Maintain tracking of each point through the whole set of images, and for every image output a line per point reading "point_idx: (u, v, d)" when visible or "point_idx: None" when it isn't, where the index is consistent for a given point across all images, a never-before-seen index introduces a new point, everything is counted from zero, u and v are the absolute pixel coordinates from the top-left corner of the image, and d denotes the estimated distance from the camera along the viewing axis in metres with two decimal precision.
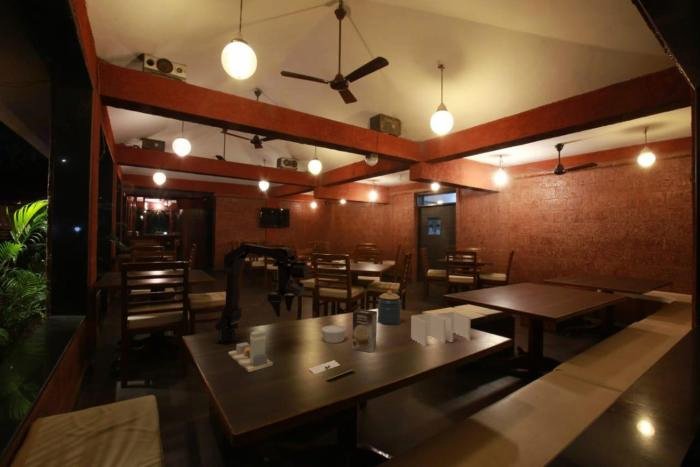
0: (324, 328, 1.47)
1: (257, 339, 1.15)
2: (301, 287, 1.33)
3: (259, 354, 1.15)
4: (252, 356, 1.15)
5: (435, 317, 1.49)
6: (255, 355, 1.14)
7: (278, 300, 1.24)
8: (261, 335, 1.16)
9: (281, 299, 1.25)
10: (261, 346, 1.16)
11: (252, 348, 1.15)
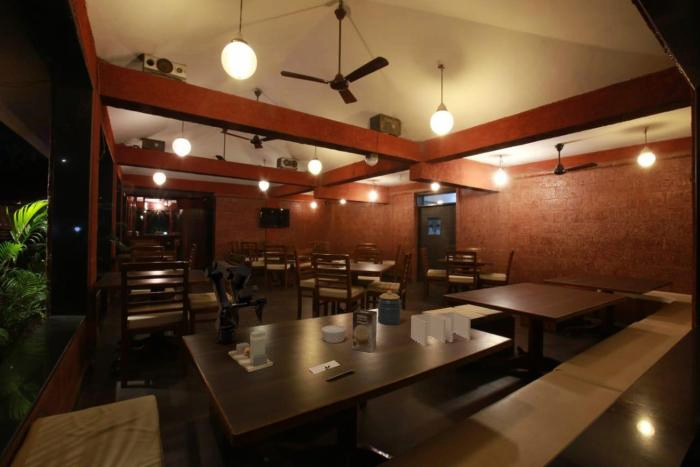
0: (324, 328, 1.47)
1: (257, 339, 1.15)
2: None
3: (259, 354, 1.15)
4: (252, 356, 1.15)
5: (435, 317, 1.48)
6: (255, 355, 1.14)
7: (222, 307, 1.19)
8: (261, 335, 1.16)
9: (225, 305, 1.20)
10: (261, 346, 1.16)
11: (252, 348, 1.15)
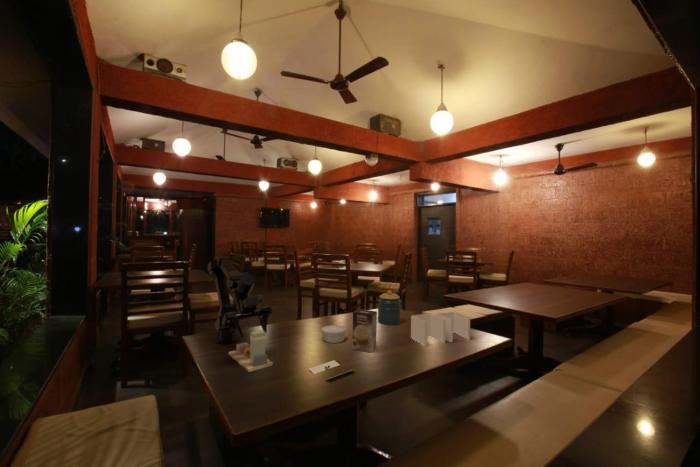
0: (324, 328, 1.47)
1: (257, 339, 1.15)
2: None
3: (259, 354, 1.15)
4: (252, 356, 1.15)
5: (435, 317, 1.48)
6: (255, 355, 1.14)
7: (226, 317, 1.16)
8: (261, 335, 1.16)
9: (229, 315, 1.16)
10: (261, 346, 1.16)
11: (252, 348, 1.15)
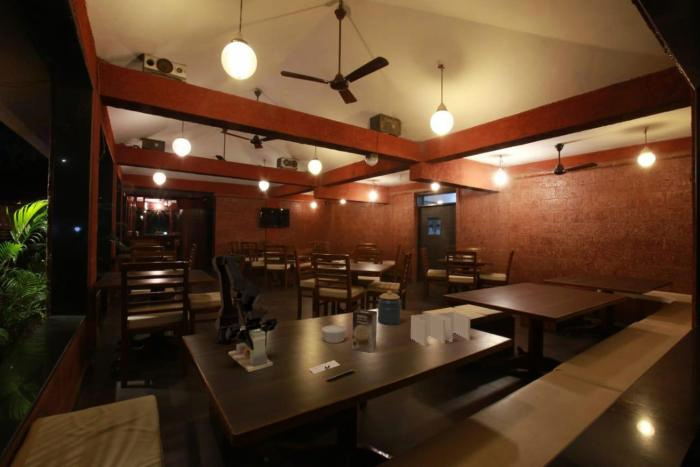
0: (324, 328, 1.47)
1: (257, 339, 1.15)
2: (258, 309, 1.18)
3: (259, 354, 1.15)
4: (252, 356, 1.15)
5: (435, 317, 1.48)
6: (255, 355, 1.14)
7: (230, 330, 1.12)
8: (261, 335, 1.16)
9: (234, 328, 1.13)
10: (261, 346, 1.16)
11: None
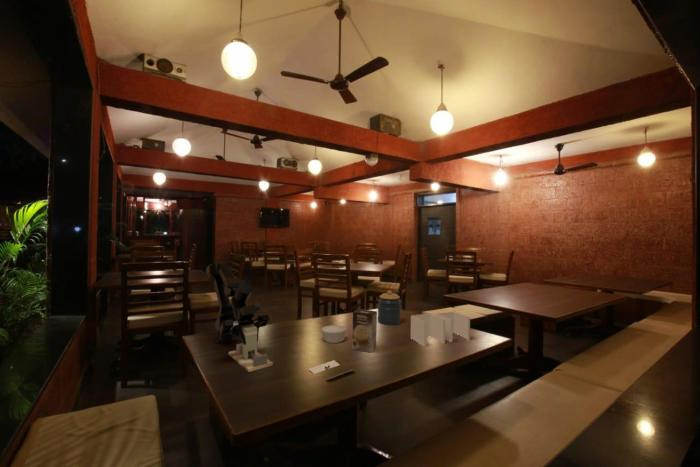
0: (324, 328, 1.47)
1: (249, 334, 1.20)
2: None
3: (251, 348, 1.21)
4: (244, 351, 1.20)
5: (435, 317, 1.48)
6: (247, 349, 1.20)
7: (223, 326, 1.18)
8: (253, 330, 1.21)
9: (227, 324, 1.18)
10: (252, 341, 1.21)
11: None
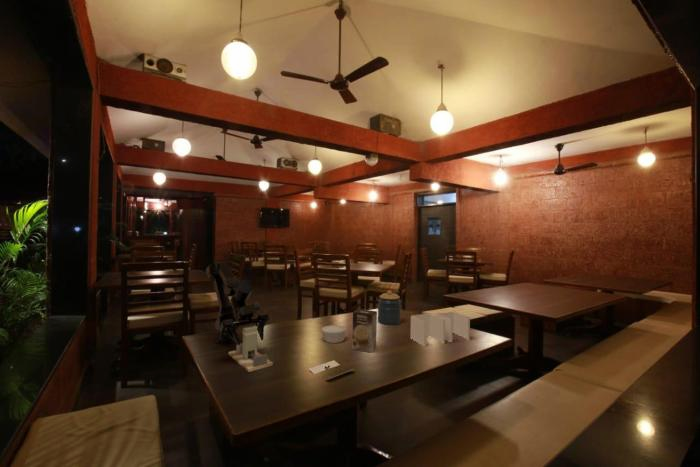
0: (324, 328, 1.47)
1: (249, 334, 1.20)
2: None
3: (251, 348, 1.21)
4: (244, 351, 1.20)
5: (434, 317, 1.48)
6: (247, 349, 1.20)
7: (223, 325, 1.18)
8: (253, 330, 1.21)
9: (227, 323, 1.18)
10: (252, 341, 1.21)
11: (244, 343, 1.20)
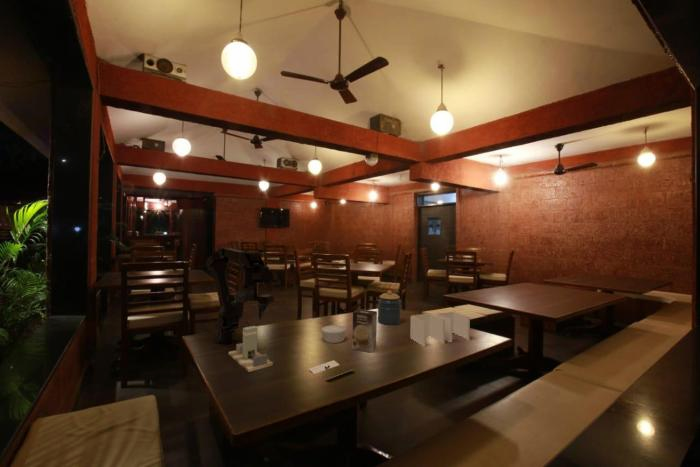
0: (324, 328, 1.47)
1: (249, 334, 1.20)
2: (241, 294, 1.24)
3: (251, 348, 1.21)
4: (244, 351, 1.20)
5: (434, 317, 1.48)
6: (247, 349, 1.20)
7: None
8: (253, 330, 1.21)
9: (229, 299, 1.31)
10: (252, 341, 1.21)
11: (244, 343, 1.20)
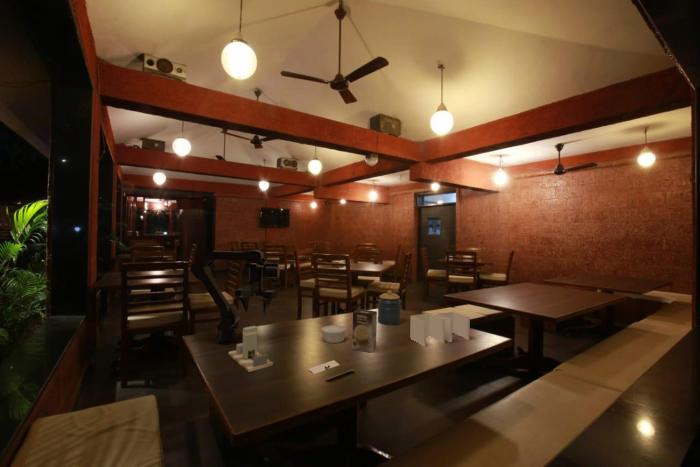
0: (324, 328, 1.47)
1: (249, 334, 1.20)
2: (247, 289, 1.35)
3: (251, 348, 1.21)
4: (244, 351, 1.20)
5: (434, 317, 1.48)
6: (247, 349, 1.20)
7: None
8: (253, 330, 1.21)
9: (236, 295, 1.41)
10: (252, 341, 1.21)
11: (244, 343, 1.20)
